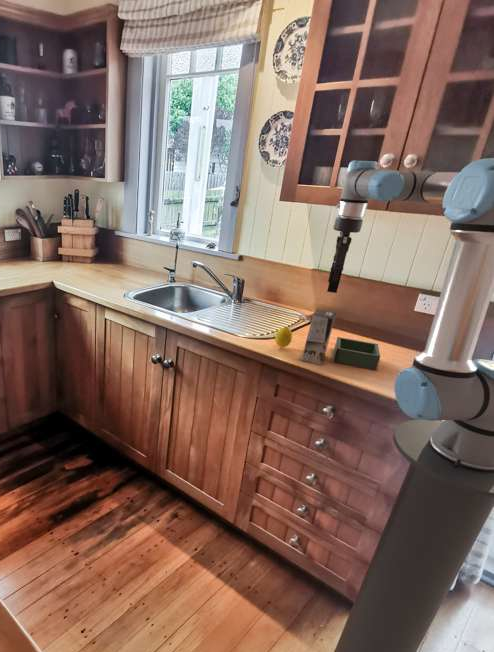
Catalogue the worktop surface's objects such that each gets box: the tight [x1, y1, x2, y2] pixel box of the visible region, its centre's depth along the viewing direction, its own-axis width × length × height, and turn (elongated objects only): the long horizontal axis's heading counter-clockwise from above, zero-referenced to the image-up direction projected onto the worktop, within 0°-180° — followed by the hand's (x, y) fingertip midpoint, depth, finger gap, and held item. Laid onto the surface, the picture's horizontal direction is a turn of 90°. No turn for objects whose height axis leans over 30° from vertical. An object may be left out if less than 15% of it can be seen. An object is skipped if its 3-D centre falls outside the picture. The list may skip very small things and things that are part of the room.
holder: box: [333, 336, 381, 371], centre depth 159 cm, size 12×13×5 cm
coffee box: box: [301, 308, 337, 365], centre depth 156 cm, size 9×6×16 cm
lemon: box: [274, 326, 293, 349], centre depth 164 cm, size 6×6×8 cm
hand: (332, 287), depth 148 cm, fingers open, 13 cm apart
